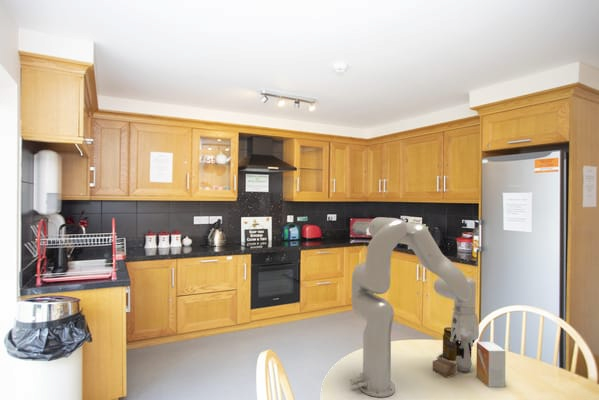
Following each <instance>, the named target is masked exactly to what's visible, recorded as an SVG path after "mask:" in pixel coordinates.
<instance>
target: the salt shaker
mask: <svg viewBox="0 0 599 400" xmlns="http://www.w3.org/2000/svg"><path fill="white" fill-rule="evenodd" d="M459 343H460V341H459ZM468 343H470V341H464V342H463V348H464V358H463V359H462V357H461V356H458V355H457V357H456V361H455V362H456V368H457V370H459V371H461V372H465V373H466V372H467V373H468V372H469V371H471V368H472V366H473V362H472V355H471V356H470V350H469V344H468Z"/></svg>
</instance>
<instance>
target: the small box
mask: <svg viewBox="0 0 599 400" xmlns="http://www.w3.org/2000/svg"><path fill="white" fill-rule="evenodd" d="M475 369H476V370H475V371H476V372H475V373H476V374H475V375H476V377H477V378H479V379H480V381H481V382H482V383H484V384H485V385H486V386H487V387H488V388H505V387H506V350H505V349H503V348H502V347H501V346H499V345H498V344H496V343H495V342H494V341H476V368H475Z"/></svg>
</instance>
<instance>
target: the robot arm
mask: <svg viewBox="0 0 599 400" xmlns="http://www.w3.org/2000/svg"><path fill="white" fill-rule="evenodd" d="M368 224H369V225H368V232H369V234H370V236H371V237H372V238H371V239H370V241H369V243H368V245H367V248H366V255H365V257H366V258H365V262H360V263H359V264H357V265H356V266H355V268H354V270H353V272H352V275H351V307H352V310H353V312H354V313H355V314H356V315H357V316H358V317H360V318H362V319H363V320H365V321H366V325H365V326H364V330H363V335H362V372H360V373H359V376H358V377H355V378H354V377H353V378H350V380H349V381H350V385H351V386H355V385H357V388H358V389H359V390H360V391H361V392H362V393H364V394H366V395H369V396H371V397H375V398H386V397H390V396H391V395H393V394H394V393H395V391H396V386H395V383H394V382H393V381H392V380H391V379H392V378H391V377H392V376H391V375H392V374H391V369H392V368H391V367H392V366H391V362H392V361H391V360H392V359H391V357H392V354H391V353H392V348H391V347H392V343H391V342H392V329H393V322H394V318H395V317H394V316H395V311H394V308H393V306H392V304H391V303H390V302H389V301H388V300H386V299H385V298H383V297H380V296H379V295H383V294H386V293H387V292H388V291H389V289H390V287H391V269H392V267H391V265H392V264H391V262H392V261H391V260H392V254H393V250H394V249H395V247H396V246H397V245H398V244H401V245H402V244H403V245H407V246H410V248H411V250H412V251H413V252H414V254H415V256H416V257H417V259H418V260H419V262H420V264H421V266H423V267H424V268H425V269H427V270H428V271H429V272H430V273H432V274H434V275H436V276H437V277H438V278H436V279H435V281H434V283H433V290H434V292H435V293H436V294H437V295H439V296H441V297H444V298H446V299H450V300H451V301H453V308H452V310H453V313H452V316H451V324H450V326H451V327H450V328H451V338H450V341H451V342H453V343H454V344H455V346H457V347H456V355H458V356H461V357H462V359H463V358H464V348H463V342H464V341H470V343H468V344H469V350H470V356H471V357H472V348H473V346H474V343H475V341H476V340H477V339H479V337H480V331H479V330H480V329H479V326H480V325H479V319H478V315H477V313H476V292H477V291H476V289H477V286H476V281H475V279H473V278H471V277H466V275H465V274H464V273H463V271H462V270H461V269H460V268H459V267H458V266H457V265H455V264H454V262H452V261H451V260H450V259H449V258H448V257H447V256H445V255H444V254H443V252H442V251H441V249H440V248H439V246H438V244H437V243H436V241H435V239H434V237H433V236H432V234H431V232H430V230H429V229H428V228H427V227H426V225H424V224H421V223H416V222H406V221H404V220H403V219H400V218H396V217H381V216H379V217H378V216H377V217H375V218H373V219H372V220H371V221H370V222H369V223H368ZM455 339H456V340H455ZM459 341H460V342H459Z"/></svg>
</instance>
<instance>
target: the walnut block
mask: <svg viewBox="0 0 599 400" xmlns="http://www.w3.org/2000/svg"><path fill="white" fill-rule="evenodd" d="M432 372H434V373H436V374H438V375H440V376H441V377H444V378H448V377H451V376H452V377H453V376H454V375H457V365H456V363H454V362H451V361H449V360H447V359H445V358H440V359H438V358H437V359H435V360H432Z"/></svg>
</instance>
